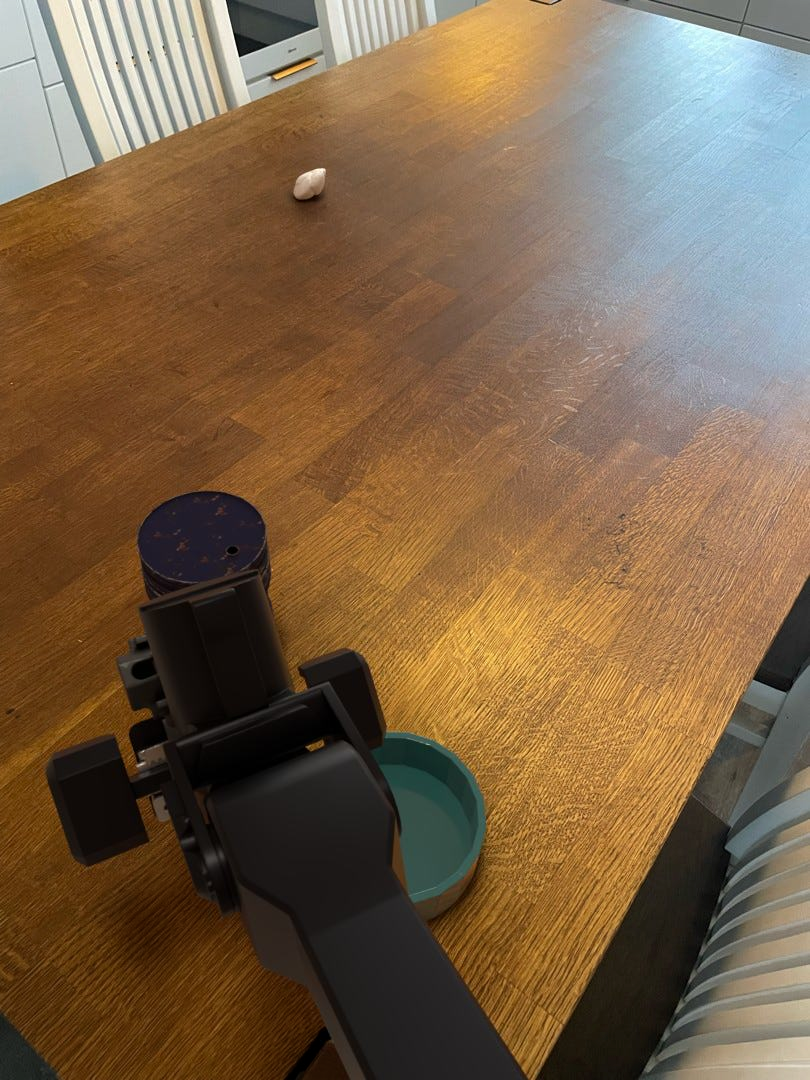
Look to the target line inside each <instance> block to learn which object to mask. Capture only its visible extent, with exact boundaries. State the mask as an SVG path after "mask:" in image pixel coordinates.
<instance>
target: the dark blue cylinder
mask: <svg viewBox="0 0 810 1080" xmlns="http://www.w3.org/2000/svg"><path fill="white" fill-rule="evenodd" d="M267 533H268V532H267V525H266V522H265V519H264V517H263V515H262V513H261V512H260V511H259V510H258V508H257V507H256V506H254V505H253V504H252V503H251V502H250V501H248V500H247V499H245V498H243V497H241V496H239V495H236V494H233V493H229V492H226V491H220V490H208V489H207V490H195V491H189V492H185V493H181V494H177V495H175V496H173V497H171V498H168V499H166V500H165V501H163V502H161V503H160V504H158V505H157V506H155V507H154V508H153V509H152V510H151V511H150V512H149V513H148V514H147V515H146V516H145V518H144V519H143V520H142V521H141V523H140V526H139V528H138V531H137V536H136V546H137V551H138V556H139V561H140V569H141V575H142V580H143V584H144V589H145V593H146V595H147V598H148V601H150V600H152V599H155V598H157V597H160V596H163V595H166V594H168V593H171V592H174V591H177V590H180V589H183V588H186V587H189V586H193V585H196V584H199V583H202V582H206V581H209V580H213V579H216V578H220V577H223V576H227V575H231V574H235V573H239V572H243V571H248V570H255V569H258V570H259V573H260V576H261V580H262V583H263V586H264V589H265V593H266V596H267V599H268V602H269V606H270V609H271V612H272V615H273V619H274V620H275V615H274V609H273V603H272V600H271V598H270V596H269V589H270V586H271V579H272V569H271V568H272V567H271V555H270V548H269V544H268V534H267Z"/></svg>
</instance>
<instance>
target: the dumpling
mask: <svg viewBox="0 0 810 1080" xmlns="http://www.w3.org/2000/svg"><path fill="white" fill-rule="evenodd" d="M326 174H327V171H326V169H325V168H316V169H313V170H310V171H307V172H305V173H303V174H301V175H299V176H298V178H297V179H296V181H295V186H294V188H293V195H294V197H295V198H296V199H297V200H308V199H311V198H312V197H314V196H317V195H318V196H319V194H320V193H321V192H322V191H323V189H324V187H325V183H326V180H325V179H326Z"/></svg>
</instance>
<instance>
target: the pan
mask: <svg viewBox="0 0 810 1080" xmlns="http://www.w3.org/2000/svg"><path fill="white" fill-rule="evenodd" d="M370 752H371V754H372V755H373V757H374V759H375V760H376V762H377V764H378V765H379V767H380V769H381V770H382V772H383V774H384V776H385V778H386V780H387V782H388V784H389V786H390V789H391V791H392V793H393V796H394V798H395V801H396V804H397V807H398V811H399V815H400V819H401V826H402V834H401V837H399V840H400V846H401V852H402V858H403V864H404V870H405V876H406V882H407V888H408V895H409V897H410V898H411V900H412V901H413V903H414V904H415V906H416V908H417V909H418V911H419V912H420V914H421V915H422V917H423V918H424V920H425V921H426V922H429V921H431V920H432V919H434V918H437V917H439V916H440V915H441V914H443V913H444V912H446V911H448V909H449V908H451V907H452V906H453V905H454V904H455V903H456V902H457V901H458V900H459V898H460V897H461V896H462V895H463V894H464V892H465V891H466V889H467V887H468V886H469V884H470V882H471V881H472V878H473V877H474V874H475V871H476V868H477V865H478V861H479V858H480V854H481V851H482V847H483V843H484V838H485V834H486V830H487V817H486V804H485V798H484V795H483V794H482V791H481V789H480V787H479V784H478V782H477V779H476V777H475V775H474V774H473V772H472V771H471V770H470V769H469V768H468V767H467V766H466V764H465V763H464V762H463V761H462V759H461V758H460V757H459V756H458V755H457V754H456V753H455V752H453V751H451V750H450V749H448V748H447V747H445V746H444V745H442V744H441V743H439V742H437V741H436V740H434V739H432V738H429V737H426V736H422V735H418V734H415V733H413V732H408V731H386V736H385V739H384V741H383V744H382V746H381V747H378V748H376V749H374V750H371V751H370Z"/></svg>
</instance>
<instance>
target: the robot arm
mask: <svg viewBox="0 0 810 1080" xmlns="http://www.w3.org/2000/svg"><path fill="white" fill-rule="evenodd" d="M136 608H137V612H138V615H139V618H140V621H141V624H142V627H143V630H144V634H141V635H138V636H135V637H133V638H129V639H127V644H128V647H129V651H128V652H127V653H125V654H122V655H119V656H117V657H116V658H115V663H116V667H117V670H118V674H119V675H120V676H119V677H120V679H121V682H122V686H123V689H124V691H125V695H126V697H127V701H128V703H129V707H130V709H131V711H133V712H138V711H141V710H143V709H148V710H149V711H150V712H151V715H152V717H149V718H146V719H144V720H141V721H138V722H136V723H134V724H132V726H131V727H130V728H129V730H128V738H129V742H130V744H131V747H132V751H133V753H134V754H133V755H134V757H135V760H136V763H135V765H136V769H137V772H136V773H134V774H131V775H129V774H128V770H127V769H126V765H125V762H124V759H123V756H122V753H121V749H120V747H119V744H118V740H117V737H116V734H115V733H110V734H104V735H99V736H96V737H94V738H90V739H88V740H86V741H83V742H80V743H77V744H74V745H71V746H68V747H66V748H63V749H60V750H57V751H55V752H53V753H52V754H51V756H50V758H49V760H48V762H47V763H46V765H45V770H44V771H45V777H46V782H47V785H48V788H49V791H50V794H51V798H52V801H53V803H54V806H55V809H56V812H57V815H58V818H59V821H60V823H61V826H62V830H63V833H64V836H65V839H66V842H67V845H68V848H69V851H70V855H71V856H72V858H73V861H75V862H77V863H79V864H81V865H83V866H85V867H87V868H91V867H93V866H95V865H98V864H101V863H102V862H104V861H107V860H110V859H112V858H115V857H117V856H119V855H122V854H124V853H126V852H129V851H131V850H133V849H136V848H139V847H142V846H144V845H146V844H148V843H150V842H151V841H150V838H149V835H148V832H147V829H146V825H145V823H144V820H143V817H142V814H141V811H140V808H139V805H138V801H137V800H140V799H142V798H144V797H146V798H148V800H149V803H150V806H151V809H152V812H153V815H154V817H155V818H156V819H157V822H160V823H163V822H167V821H169V820H170V821H171V825H172V827H173V830H174V832H175V836H176V838H177V839H176V840H177V841H178V845H179V847H180V851H181V854H182V857H183V859H184V862H185V865H186V868H187V871H188V873H189V877H190V880H191V883H192V885H193V888H194V891H195V893H196V896H197V897H199V898H202V899H204V900H207V901H208V902H209V903H211V905H213V904H216V907H217V910H218V912H219V915H220V917H221V919H224V918H226V917H229V916H231V915H233V914H238V918H239V919H240V921H241V924H242V926H243V929H244V931H245V934H246V936H247V938H248V940H249V942H250V945H251V947H252V949H253V951H254V953H255V956H256V958H257V961H258V963H259V965H260V966H261V967H262V968H264V970H265V969H266V970H268V971H270V972H272V973H274V974H277V975H279V976H281V977H284V978H285V979H287V980H290V981H293V982H294V983H298V984H300V985H302V986H303V987H304V986H305V987H306V988H307V990H308V992H309V995H310V996H311V998H312V1000H313V1002H314V1004H315V1006H316V1007H317V1010H318V1012H319V1014H320V1017H321V1019H322V1021H323V1023H324V1026H325V1028H326V1030H327V1032H328V1034H329V1037H330V1038H331V1041H332V1043H333V1045H334V1047H335V1050H336V1052H337V1054H338V1056H339V1058H340V1061H341V1063H342V1065H343V1067H344V1070H345V1071H346V1074H347V1076H348V1078H349V1080H530V1078H529V1077H528V1076H527V1074H526V1073H525V1071H524V1069H523V1068H522V1066H521V1065H520V1064H519V1062H518V1060H517V1059H516V1057H515V1055H514V1054H513V1053H512V1051H511V1049H510V1048H509V1047H508V1045H507V1043H506V1042H505V1040H504V1039H503V1037H502V1036H501V1034H500V1033H499V1031H498V1030H497V1028H496V1027H495V1025H494V1024H493V1022H492V1021H491V1019H490V1018H489V1016H488V1015H487V1013H486V1011H485V1010H484V1009H483V1007H482V1005H481V1004H480V1003H479V1001H478V1000H477V998H476V996H475V995H474V993H473V992H472V990H471V989H470V987H469V985H468V984H467V982H466V981H465V980H464V978H463V976H462V975H461V973H460V971H459V970H458V969H457V967H456V966H455V964H454V963H453V961H452V959H451V957H449V955H448V954H447V952H446V950H445V949H444V947H443V946H442V944H441V943H440V941H439V939H438V938H437V936H436V935H435V934H434V932H433V930H432V929H431V928H430V926H429V924H428V923H427V921H425V920H424V918H423V917H422V915H421V914H420V912H419V911H418V909H417V908H416V906H415V904H414V903H413V901H412V900H411V898H410V897H409V895H408V888H407V882H406V876H405V870H404V864H403V858H402V852H401V846H400V840H399V837H401V834H402V826H401V819H400V815H399V811H398V807H397V804H396V801H395V798H394V796H393V793H392V791H391V789H390V786H389V784H388V782H387V780H386V778H385V776H384V774H383V772H382V770H381V769H380V767H379V765H378V764H377V762H376V760H375V759H374V757H373V755H372V754H371V752H370V751H371V750H374V749H376V748H378V747H381V746H382V744H383V741H384V739H385V736H386V732H387V730H388V729H387V728H388V726H387V722H386V718H385V715H384V712H383V708H382V705H381V702H380V699H379V694H378V692H377V689H376V685H375V682H374V679H373V678H374V677H373V675H372V672H371V668H370V665H369V663H368V661H367V660H366V658H365V656H364V655H363V654H362V653H359V652H358V651H356V650H354V649H351V648H349V647H345V646H344V647H342V648H339V649H336V650H334V651H330V652H327V653H324V654H322V655H319V656H317V657H314V658H311V659H308V660H306V661H304V662H302V663H301V664H300V665H298V666H297V671H298V674H299V677H301V678H303V679H304V683H305V686H306V689H304V690H301V691H298V692H296V688H295V685H294V681H293V678H292V675H291V672H290V668H289V664H288V662H287V658H286V655H285V652H284V651H285V650H284V649H283V645H282V641H281V639H280V635H279V631H278V629H277V625H276V622H275V618H274V619H273V615H272V612H271V609H270V606H269V602H268V599H267V596H266V593H265V589H264V586H263V583H262V580H261V576H260V573H259V570H258V569H255V570H248V571H243V572H239V573H235V574H231V575H227V576H223V577H220V578H216V579H213V580H209V581H206V582H202V583H199V584H196V585H193V586H189V587H186V588H183V589H180V590H177V591H174V592H171V593H168V594H166V595H163V596H160V597H157V598H155V599H152V600H147V601H145V602H143V603H141V604H139V605H138V606H136ZM322 741H323V746H320V747H318V748H315V749H313V750H310V749H309V748H308V747H309V746H311V745H314V744H316V743H319V742H322Z"/></svg>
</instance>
